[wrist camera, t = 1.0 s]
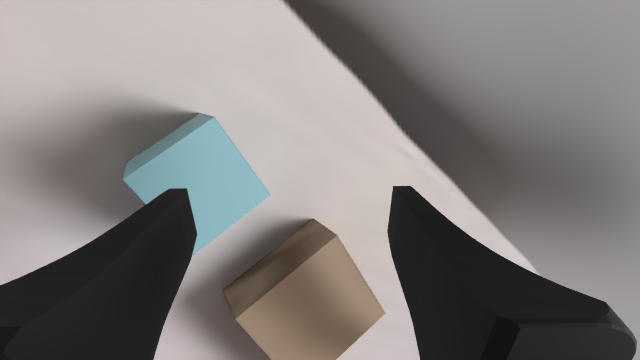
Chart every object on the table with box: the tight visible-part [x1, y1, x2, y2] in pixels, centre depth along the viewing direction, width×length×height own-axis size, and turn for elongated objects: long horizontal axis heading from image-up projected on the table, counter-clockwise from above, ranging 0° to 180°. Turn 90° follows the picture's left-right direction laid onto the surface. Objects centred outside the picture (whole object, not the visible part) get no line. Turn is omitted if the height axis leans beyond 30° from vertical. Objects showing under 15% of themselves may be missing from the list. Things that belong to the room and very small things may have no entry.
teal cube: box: [123, 113, 271, 255], centre depth 20 cm, size 5×5×5 cm
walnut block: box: [223, 219, 385, 360], centre depth 26 cm, size 8×8×4 cm
